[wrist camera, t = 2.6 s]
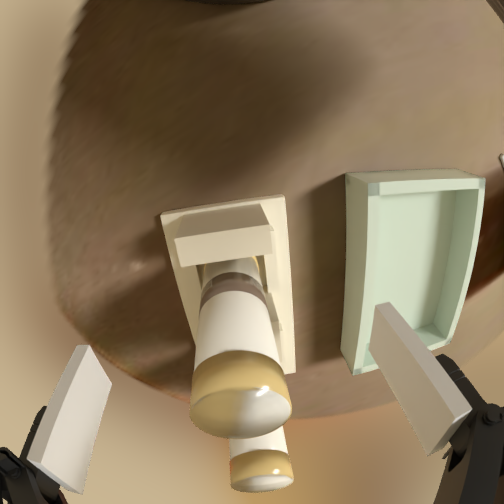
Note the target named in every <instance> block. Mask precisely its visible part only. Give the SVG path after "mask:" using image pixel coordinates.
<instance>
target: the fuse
mask: <svg viewBox="0 0 504 504" xmlns="http://www.w3.org/2000/svg"><path fill="white" fill-rule="evenodd" d="M229 448H230V480H231V487H232V488H233V489H234V490H237V491H240V492H248V493H259V492H268V491H274V490H278V489H281V488H284V487H286V486H288V485H290V484H291V483H292V482H293V481H294V477H293V473H292V467H291V462H290V457H289V455H288V452H287V447H286V441H285V436H284V431H283V426H281V427H280V428H278V429H277V430H275V431H273V432H271V433H268V434H266V435H262V436H259V437H254V438H248V439H229Z"/></svg>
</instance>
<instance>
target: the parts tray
mask: <svg viewBox="0 0 504 504" xmlns="http://www.w3.org/2000/svg"><path fill="white" fill-rule="evenodd" d="M345 184H346V272H345V294H344V311H343V324H342V336H341V347H340V350H341V352H342V354H343V356H344V359H345V361H346V363H347V365H348V367H349V369H350V371H351V374H352V376H354V375H357V374H361V373H365V372H368V371H372V370H375V369H378V368H379V367H378V365H377V364H376V362H375V360H374V359H373V357H372V355H371V353H370V352H369V350H368V348H369V343H370V336H371V330H372V323H373V316H374V309H375V305H378V304H382V303H386V302H390V303H391V304H392V305H393V306H394V308H395V309H396V310H397V311H398V312H399V313H400V315H401V316H402V317H403V318H404V319H405V321H406V322H407V323H408V324H409V326H410V327H411V328H412V329H413V330H414V332H415V333H416V334H417V335H418V337H419V338H420V339H421V340H422V342H423V343H424V344H425V345H426V347H427V348H428V349H429V350H430V351H431V350H434V349H436V348H439V347H442V346H444V345H446V344H449V343H450V342H451V339H452V337H453V334H454V331H455V328H456V325H457V322H458V319H459V316H460V313H461V310H462V306H463V303H464V299H465V296H466V292H467V289H468V285H469V281H470V277H471V273H472V268H473V264H474V259H475V254H476V249H477V244H478V238H479V232H480V226H481V219H482V211H483V202H484V191H485V178H483V177H480V176H477V175H474V174H471V173H468V172H465V171H462V170H459V169H416V170H389V171H370V172H354V173H345Z"/></svg>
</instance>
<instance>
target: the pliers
mask: <svg viewBox="0 0 504 504" xmlns="http://www.w3.org/2000/svg"><path fill="white" fill-rule="evenodd" d="M500 159H501V162H502V165H503V167H504V154H501V155H500Z"/></svg>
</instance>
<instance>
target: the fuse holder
mask: <svg viewBox="0 0 504 504" xmlns="http://www.w3.org/2000/svg"><path fill="white" fill-rule="evenodd" d="M160 217H161V221H162V226H163V230H164V234H165V239H166V243H167V247H168V251H169V255H170V259H171V263H172V266H173V270H174V274H175V278H176V281H177V285H178V289H179V292H180V296H181V299H182V303H183V306H184V310H185V313H186V316H187V320H188V323H189V326H190V329H191V333H192V336H193V339H194V342H195V345H196V343H197V333H198V323H199V310H200V301H201V294H202V287H203V278H204V264H205V263H212V262H219V261H226V260H233V259H239V258H246V257H253V256H256V258H257V262H258V266H259V274H260V278H261V283H262V287H263V291H264V294H265V298H266V302H267V307H268V311H269V317H270V321H271V326H272V330H273V334H274V339H275V343H276V347H277V352H278V356H279V360H280V365H281V368H282V369H283V372H284V374H289V373H295V345H294V323H293V304H292V287H291V271H290V256H289V243H288V230H287V218H286V206H285V197H284V195H283V194H279V195H271V196H263V197H256V198H248V199H241V200H234V201H227V202H221V203H214V204H208V205H202V206H195V207H189V208H183V209H178V210H172V211H166V212H162V214H161V215H160Z"/></svg>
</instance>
